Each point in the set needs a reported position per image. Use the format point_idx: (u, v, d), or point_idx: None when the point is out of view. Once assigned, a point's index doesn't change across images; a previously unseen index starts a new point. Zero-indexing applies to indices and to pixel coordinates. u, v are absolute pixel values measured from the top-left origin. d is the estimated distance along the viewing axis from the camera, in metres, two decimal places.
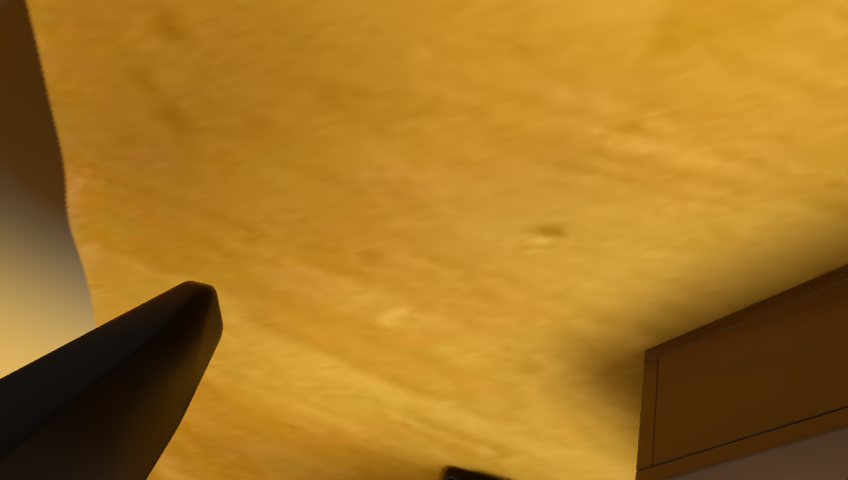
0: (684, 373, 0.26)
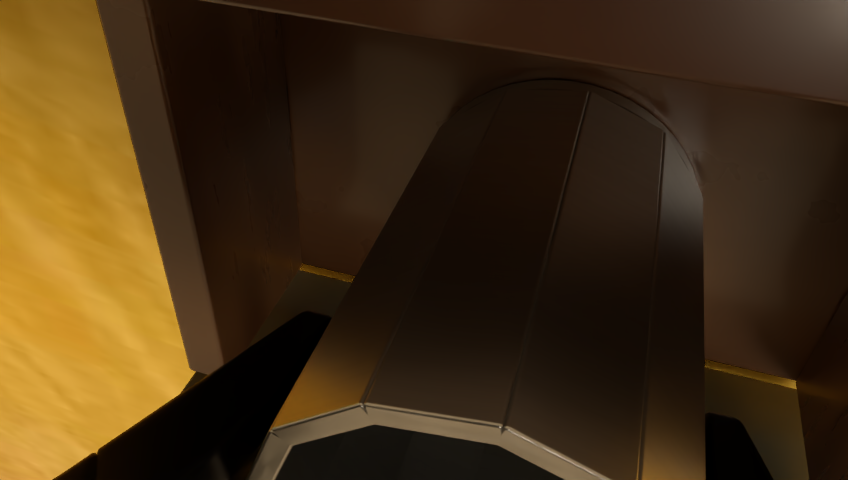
0: None
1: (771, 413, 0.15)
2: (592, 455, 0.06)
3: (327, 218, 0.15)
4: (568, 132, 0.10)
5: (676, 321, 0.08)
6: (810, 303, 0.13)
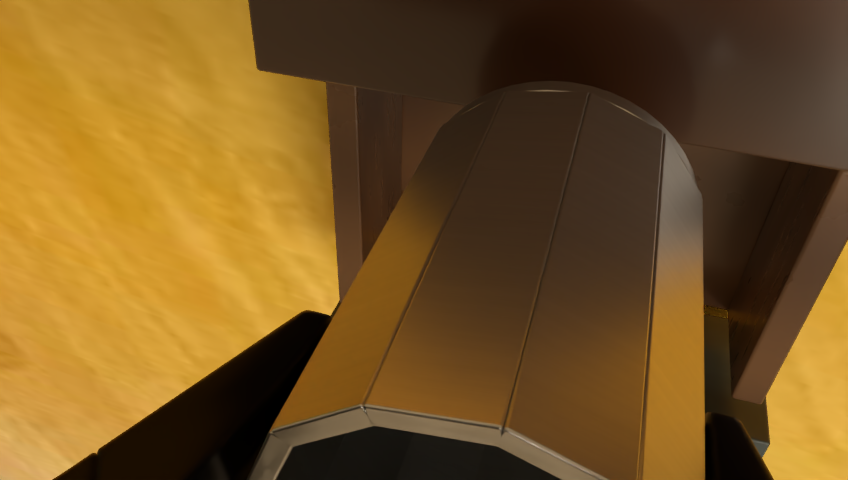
0: None
1: (715, 334, 0.22)
2: (591, 457, 0.06)
3: None
4: (568, 133, 0.10)
5: (675, 322, 0.09)
6: (732, 257, 0.20)
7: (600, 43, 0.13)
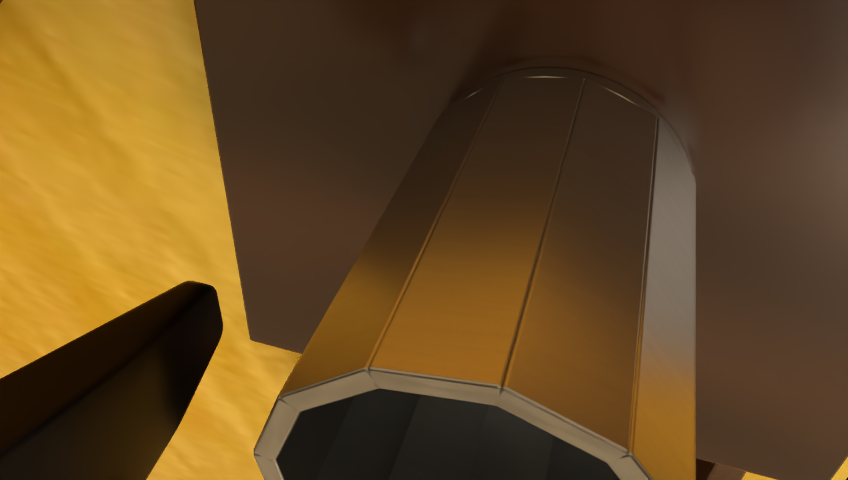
0: None
1: None
2: (587, 415, 0.07)
3: None
4: (564, 117, 0.10)
5: (668, 296, 0.09)
6: None
7: None
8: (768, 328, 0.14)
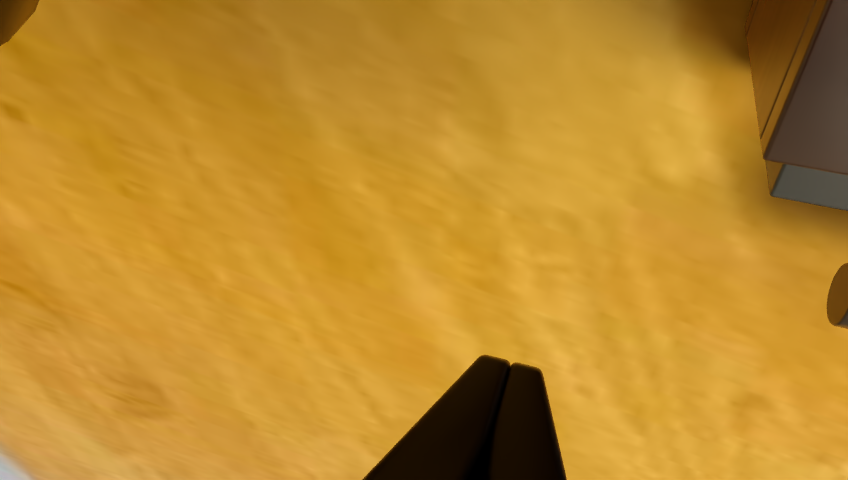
0: None
1: None
2: None
3: None
4: None
5: None
6: None
7: None
8: None
